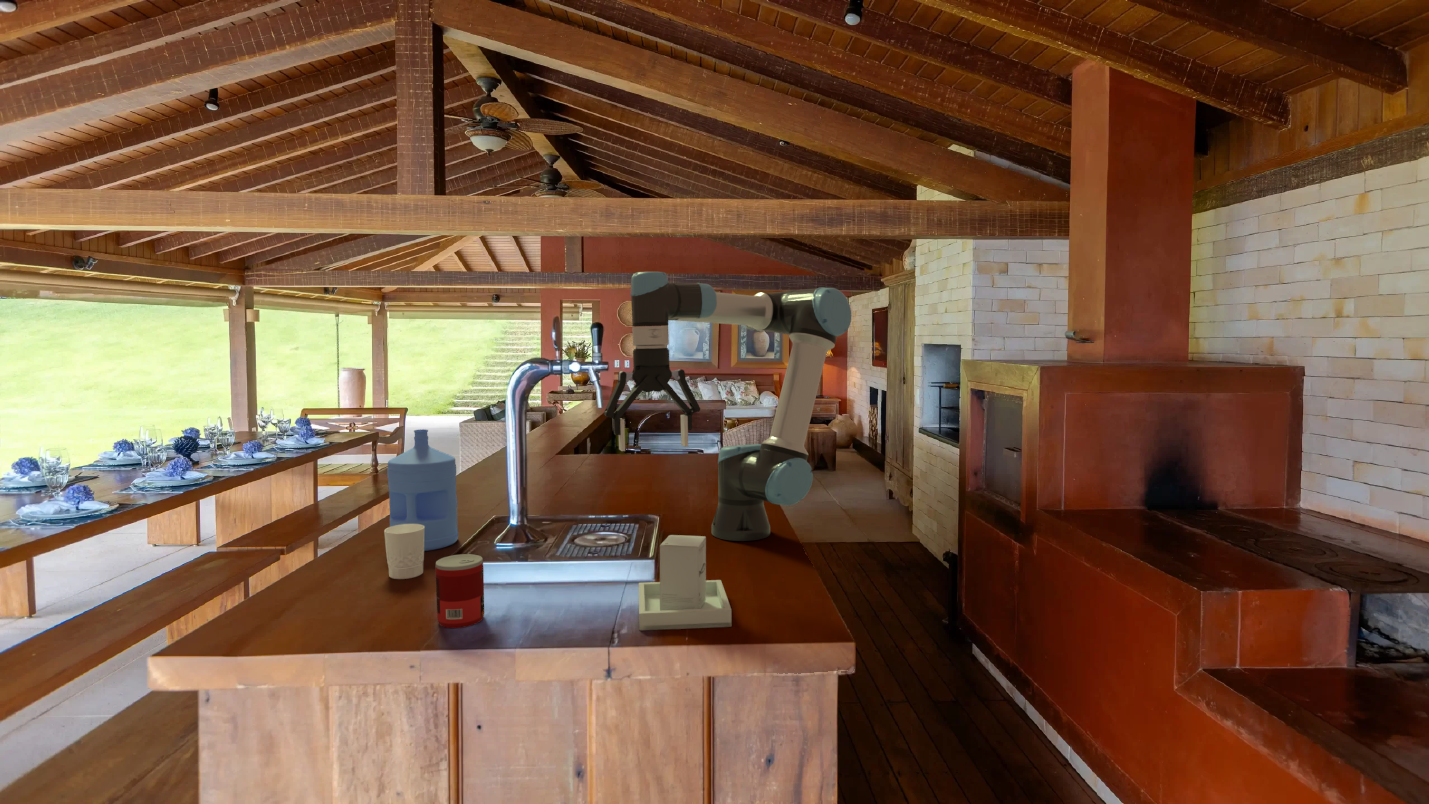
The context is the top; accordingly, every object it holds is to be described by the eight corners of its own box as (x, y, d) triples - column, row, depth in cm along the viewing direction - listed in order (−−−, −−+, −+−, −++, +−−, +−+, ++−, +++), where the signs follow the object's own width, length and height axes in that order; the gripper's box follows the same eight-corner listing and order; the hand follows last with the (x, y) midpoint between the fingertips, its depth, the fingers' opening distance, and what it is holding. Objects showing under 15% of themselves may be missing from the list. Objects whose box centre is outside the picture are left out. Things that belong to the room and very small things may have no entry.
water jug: (407, 534, 187) (404, 426, 185) (468, 535, 187) (465, 426, 184) (377, 552, 172) (372, 434, 169) (443, 553, 171) (439, 434, 169)
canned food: (492, 620, 130) (490, 560, 129) (448, 632, 125) (446, 569, 124) (472, 608, 136) (470, 551, 135) (430, 620, 130) (428, 560, 129)
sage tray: (638, 597, 142) (638, 582, 141) (720, 594, 143) (720, 579, 143) (639, 630, 126) (639, 613, 125) (731, 626, 127) (731, 609, 127)
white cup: (390, 582, 150) (389, 535, 149) (382, 573, 156) (380, 527, 156) (430, 575, 155) (429, 529, 154) (420, 566, 161) (419, 521, 160)
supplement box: (698, 615, 130) (698, 546, 129) (658, 613, 132) (658, 544, 130) (707, 601, 137) (707, 535, 136) (668, 598, 139) (668, 533, 138)
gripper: (594, 349, 144) (598, 455, 147) (713, 345, 152) (715, 446, 155) (588, 348, 151) (591, 449, 154) (702, 345, 159) (704, 441, 162)
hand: (653, 448), depth 154 cm, fingers open, 13 cm apart
